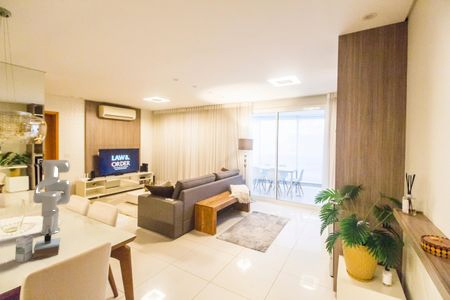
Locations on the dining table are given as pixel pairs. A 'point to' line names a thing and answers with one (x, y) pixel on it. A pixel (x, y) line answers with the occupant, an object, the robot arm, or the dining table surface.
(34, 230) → the dining table surface
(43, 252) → the box
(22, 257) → the syrup box
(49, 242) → the lid
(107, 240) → the dining table surface
